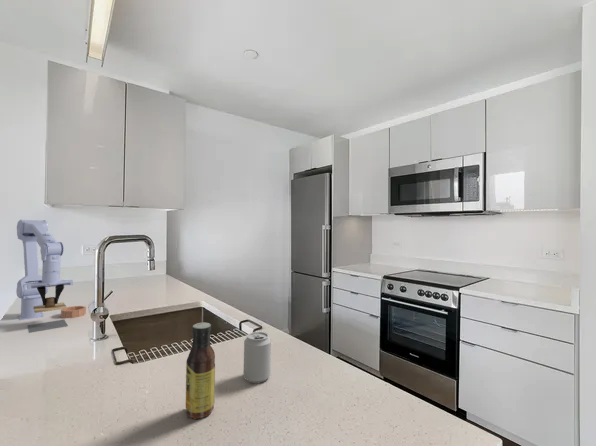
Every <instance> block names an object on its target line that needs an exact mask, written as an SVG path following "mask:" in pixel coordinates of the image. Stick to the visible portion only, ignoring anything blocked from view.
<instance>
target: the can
mask: <svg viewBox="0 0 596 446" xmlns="http://www.w3.org/2000/svg"><path fill="white" fill-rule="evenodd" d="M269 336H270V335H269V334H268V333H267V332H264V331H252V332H249V333H248V334H247V335H246V338H245V339H244V342H243V344H244V345H243V378H244V379H245V380H246V381H247V382H249V383H250V384H251V383H252V384H261V383H264V382H266V381H267V380H268V379H269V378H270V376H271V363H272V362H271V361H272V360H271V359H272V358H271V355H272V348H271V347H272V341H271V340H272V339H271V338H270V337H269Z"/></svg>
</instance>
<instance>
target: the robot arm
mask: <svg viewBox="0 0 596 446" xmlns="http://www.w3.org/2000/svg"><path fill="white" fill-rule="evenodd" d="M48 231H49V223H48V221H47V220H32V219H29V220H28V219H19V220H18V221H17V225H16V235H17V239H18V240H21V241H22V247H23V260H24V261H23V263H24V276H23V277H22V278H21V279H19V280H18V281H17V283H16V291H15V293H16V296H17V297H18V299H20V300H21V305H20V314H19V315H18V318H19V320H20V321H24V320H31V319H38V318H44V317H45V315H44V312H38V313H35V312H34V309H33V306H40V305H43V306H44V305H45V304H46V302H45V298H46V294H47V293H48V291H49V290H48V289H49V288H51V287H55V292H54V293H55V296H54V297H55V304H57V303H59V300H60V297H61V294H62V292H63V290H64V288H65V286H73V285H74V280H73V279H66V280H63V279H61V278H60V277H61V256H63V254H64V251H65V249H64V243H63V242H61V241H57V240H56V239H55V237H54V236H53V234H51V233H50V232H49V233H48ZM38 246H39V247H40V255H41V256H40V259H41V261H42V266H41V267H42V270H41V271H42V272H41V275H40V273H39V272H40V270H39V269H40V268H39V257H38V255H39V254H38Z"/></svg>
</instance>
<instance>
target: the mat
mask: <svg viewBox="0 0 596 446" xmlns="http://www.w3.org/2000/svg"><path fill="white" fill-rule="evenodd" d="M26 327H27V330H28V333H29V334H31V333H37V332H42V331H47V330H54V329H55V330H56V329H59V328H67V327H69V325H68V323H67V322H66V320H65V319H58V320H51V321H46V322H40V323H34V324H33V323H32V324H28V325H26Z"/></svg>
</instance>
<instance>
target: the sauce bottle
mask: <svg viewBox="0 0 596 446" xmlns="http://www.w3.org/2000/svg"><path fill="white" fill-rule="evenodd" d="M191 328H192V329H191V332H192V343H191V344H192V345H191V348H190V351H189V352H188V353H189V354H188V356H187V358H186V362H185V363H186V364H185V365H186V366H185V368H186V369H185V370H186V371H185V409H186V415H187V416H188V418H192V419H202V418H206V417H207V416H209V415H211V414H212V412H213V410H214V408H215V406H214V405H215V404H214V403H215V395H216V393H215V386H216V379H215V378H216V363H215V361H216V354H215V350H214V349H213V347H212V346H211V344H210V343H211V332H212V324H211V323H209V322H198V323H195V324H194V323H193V325H192V327H191Z"/></svg>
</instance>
